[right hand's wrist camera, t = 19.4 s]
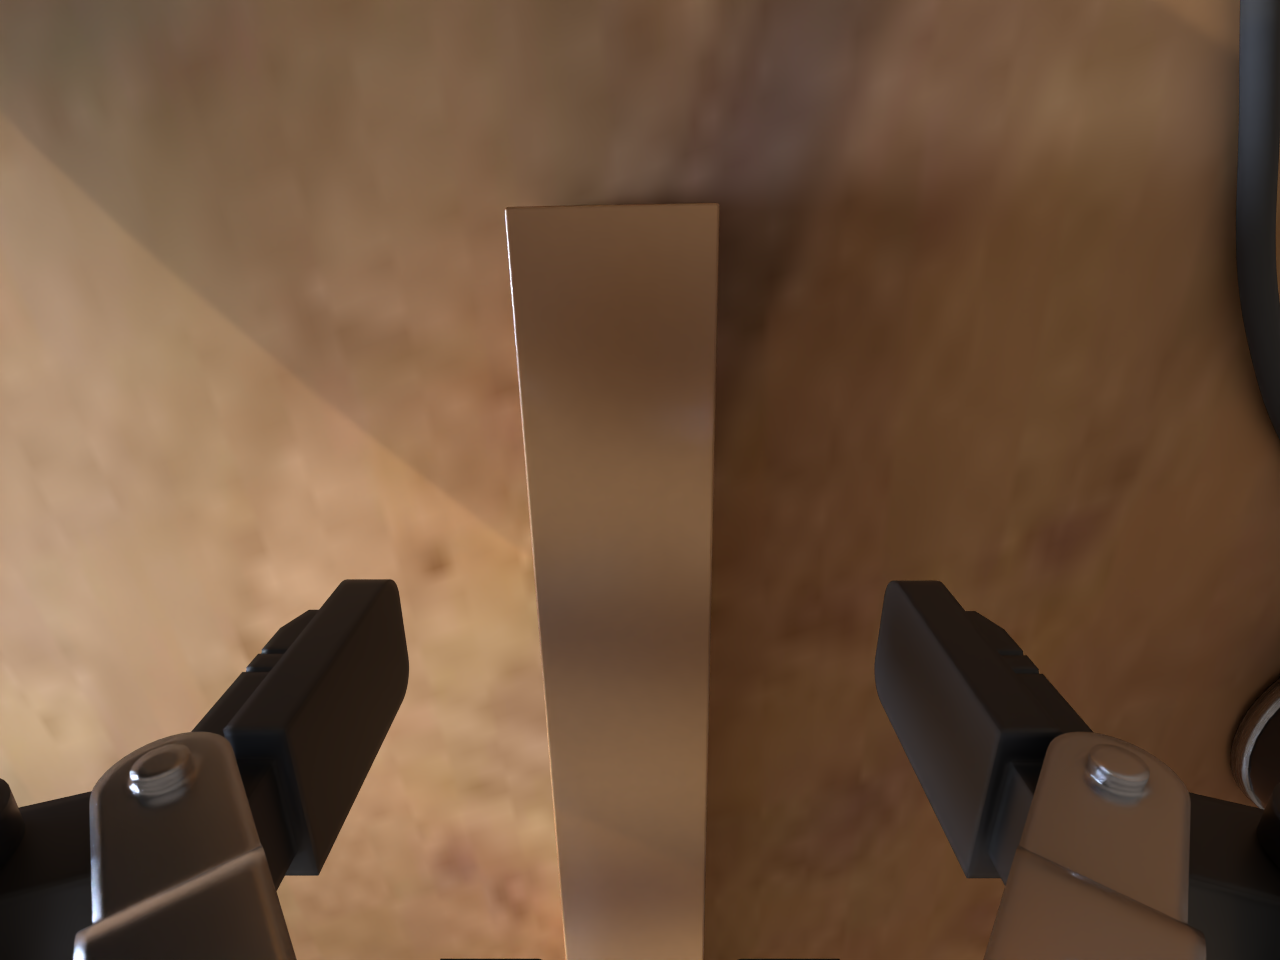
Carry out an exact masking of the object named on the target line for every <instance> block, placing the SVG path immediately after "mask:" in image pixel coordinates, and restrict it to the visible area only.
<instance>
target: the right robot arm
mask: <svg viewBox="0 0 1280 960" xmlns="http://www.w3.org/2000/svg"><path fill="white" fill-rule="evenodd" d="M1279 143H1280V0H1240V43H1239V137H1238V169H1237V198H1236V259H1237V275H1238V286H1239V295H1240V302H1241V309H1242V316H1243V321H1244V326H1245V331H1246V336H1247V341H1248V345H1249V350H1250V354H1251V358H1252V362H1253V366H1254V370H1255V374H1256V378H1257V381H1258V385H1259V388H1260V391H1261V395H1262V398H1263V401H1264V404H1265V406H1266V409H1267V412H1268V414H1269V417H1270V419H1271V422H1272V424H1273V426H1274V429H1275V431H1276V433H1277V435H1278V437H1279V439H1280V302H1279V294H1278V284H1277V272H1276V201H1277V180H1278V162H1279ZM246 668H247V670H246V672H242V673H241V674H240V676H239V677H238V678H237V679H236V680H235V681H234V683H233V684H232V685H231V686H230V687H229V688H228V690H227V691H226V692H225V693H224V694H223V695H222V697H221V698H220V699H219V700H218V701H217V702H216V704H215V705H214V706H213V707H212V708H211V709H210V711H209V712H208V713H207V714H206V715H205V716H204V718H203V719H202V720H201V721H200V722H199V723H198V725H197V726H196V727H195V728H194V729H193V730H192V732H188V733H181V734H177V735H173V736H169V737H166V738H163V739H160V740H157V741H154V742H152V743H150V744H147V745H145V746H143V747H141V748H139V749H137V750H135V751H134V752H132V753H130V754H129V755H127V756H125V757H124V758H122V759H121V760H120V761H118V762H117V763H116V764H114V765H113V766H112V767H111V768H110V769H109V770H107V771H106V772H105V773H104V775H103V776H102V777H101V778H100V779H99V780H98V782H97V783H96V785H95V786H94V788H93V790H92V791H91V792H87V793H82V794H78V795H73V796H69V797H64V798H60V799H55V800H51V801H47V802H42V803H38V804H33V805H29V806H24V807H20V808H18V806H17V804H16V801H15V799H14V797H13V794H12V792H11V790H10V787H9V785H8V784H7V783H6V782H5V781H4V780H2V779H0V960H296V956H295V953H294V950H293V946H292V943H291V940H290V936H289V933H288V929H287V926H286V923H285V919H284V916H283V913H282V909H281V906H280V903H279V899H278V896H277V892H276V891H277V889H278V887H279V885H280V883H281V882H282V880H283V878H284V876H285V875H319V873H320V871H321V869H322V867H323V865H324V863H325V861H326V859H327V857H328V855H329V853H330V850H331V848H332V846H333V844H334V842H335V840H336V838H337V836H338V834H339V832H340V830H341V828H342V826H343V824H344V821H345V819H346V817H347V815H348V813H349V811H350V809H351V807H352V805H353V803H354V801H355V799H356V797H357V795H358V792H359V790H360V788H361V786H362V784H363V782H364V780H365V778H366V776H367V774H368V772H369V770H370V768H371V766H372V763H373V761H374V759H375V757H376V755H377V753H378V751H379V749H380V747H381V745H382V743H383V741H384V739H385V737H386V734H387V732H388V730H389V728H390V726H391V724H392V722H393V720H394V718H395V716H396V714H397V712H398V710H399V708H400V705H401V703H402V701H403V699H404V696H405V693H406V689H407V684H408V677H409V660H408V652H407V645H406V638H405V631H404V624H403V617H402V611H401V604H400V597H399V591H398V588H397V585H396V583H395V582H394V581H393V580H379V579H378V580H375V579H374V580H371V579H370V580H367V579H365V580H362V579H361V580H358V579H356V580H354V579H352V580H350V579H347V580H344V581H342V582H341V583H340V585H339V586H338V587H337V588H336V589H335V591H334V592H333V593H332V594H331V596H330V597H329V598H328V599H327V601H326V602H325V603H324V604H323V606H322V607H321V608H320V609H319V610H308V611H306V612H305V613H303V614H302V615H300V616H299V617H297V618H295V619H294V620H292V621H291V622H289V623H288V624H286V625H285V626H283V627H281V628H280V629H279V630H278V631H277V633H276V634H275V635H274V636H273V637H272V638H271V640H270V641H269V642H268V643H267V644H266V645H265V647H264V648H263V649H262V653H261V654H258V655H257V656H256V657H255V658H254V659H253V661H252V662H251V663H250V664H249V665H248V666H247V667H246ZM1038 670H1039V669H1038V668H1037V667H1036V666H1035V665H1034V663H1033V662H1032V661H1031V660H1030V659H1029V658H1028V656H1027V655H1023V651H1022V650H1021V648H1020V647H1019V646H1018V645H1017V644H1016V643H1015V641H1014V640H1013V639H1012V638H1011V637H1010V636H1009V635H1008V633H1007V632H1006V631H1005V630H1004V629H1002V628H1001V627H999V626H998V625H996V624H995V623H993V622H991V621H990V620H988V619H987V618H985V617H984V616H982V615H980V614H979V613H977V612H976V611H965V610H964V609H963V608H962V607H961V605H960V604H959V603H958V602H957V600H956V599H955V598H954V597H953V595H952V594H951V593H950V592H949V591H948V589H947V588H946V587H945V586H944V584H943V583H942V582H940V581H891V582H890V583H889V584H888V586H887V588H886V591H885V596H884V603H883V609H882V616H881V623H880V630H879V637H878V643H877V650H876V657H875V682H876V688H877V692H878V696H879V699H880V701H881V704H882V706H883V708H884V710H885V712H886V714H887V716H888V718H889V720H890V722H891V724H892V726H893V728H894V730H895V732H896V734H897V736H898V738H899V740H900V742H901V744H902V747H903V749H904V751H905V753H906V755H907V757H908V759H909V761H910V763H911V765H912V767H913V769H914V771H915V773H916V775H917V777H918V779H919V781H920V783H921V785H922V787H923V789H924V792H925V794H926V796H927V798H928V800H929V802H930V804H931V806H932V808H933V810H934V812H935V814H936V816H937V818H938V820H939V822H940V824H941V826H942V828H943V830H944V832H945V835H946V837H947V839H948V841H949V843H950V845H951V847H952V849H953V851H954V853H955V855H956V857H957V859H958V861H959V863H960V865H961V867H962V869H963V871H964V873H965V875H966V878H1001V879H1002V881H1003V883H1004V885H1005V889H1004V892H1003V896H1002V899H1001V903H1000V906H999V909H998V913H997V916H996V919H995V923H994V926H993V929H992V933H991V936H990V940H989V943H988V946H987V950H986V953H985V956H984V960H1280V678H1279V679H1278V680H1277V681H1276V682H1275V683H1273V684H1272V685H1271V686H1270V687H1269V688H1268V689H1267V690H1266V691H1265V692H1264V693H1263V694H1262V695H1261V696H1260V697H1259V698H1258V699H1257V700H1256V701H1255V702H1254V704H1253V705H1252V706H1251V708H1250V709H1249V710H1248V712H1247V713H1246V715H1245V716H1244V718H1243V720H1242V721H1241V723H1240V725H1239V727H1238V729H1237V732H1236V734H1235V737H1234V741H1233V744H1232V750H1231V768H1232V772H1233V776H1234V778H1235V781H1236V783H1237V784H1238V786H1239V788H1240V789H1241V790H1242V792H1243V793H1244V794H1245V795H1246V796H1247V797H1248V798H1249V799H1250V800H1252V801H1253V802H1254V803H1255V804H1256V805H1257V806H1258V807H1259V808H1255V807H1251V806H1246V805H1242V804H1237V803H1233V802H1228V801H1224V800H1220V799H1215V798H1211V797H1206V796H1202V795H1197V794H1194V793H1190V792H1188V790H1187V788H1186V786H1185V785H1184V783H1183V782H1182V780H1181V779H1180V778H1179V777H1178V776H1177V775H1176V774H1175V772H1174V771H1173V770H1171V769H1170V768H1169V767H1168V766H1167V765H1166V764H1164V763H1163V762H1162V761H1160V760H1159V759H1158V758H1156V757H1155V756H1153V755H1151V754H1150V753H1148V752H1146V751H1145V750H1143V749H1141V748H1139V747H1137V746H1135V745H1133V744H1130V743H1128V742H1126V741H1123V740H1120V739H1117V738H1114V737H1111V736H1107V735H1103V734H1099V733H1093V731H1092V730H1091V729H1090V728H1089V727H1088V726H1087V725H1086V723H1085V722H1084V721H1083V720H1082V719H1081V718H1080V716H1079V715H1078V714H1077V713H1076V712H1075V711H1074V710H1073V708H1072V707H1071V706H1070V705H1069V704H1068V703H1067V701H1066V700H1065V699H1064V698H1063V697H1062V696H1061V695H1060V693H1059V692H1058V691H1057V690H1056V689H1055V688H1054V686H1053V685H1052V684H1051V683H1050V682H1049V681H1048V680H1047V678H1046V677H1045V676H1044V675H1043V674H1039V672H1038ZM440 960H541V959H440ZM739 960H840V959H739Z"/></svg>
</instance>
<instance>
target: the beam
mask: <svg viewBox="0 0 1280 960" xmlns="http://www.w3.org/2000/svg"><path fill="white" fill-rule="evenodd" d="M719 209H720V206H719V204H718V203H685V204H634V205H582V206H530V207H506V208H505V210H504V212H505V224H506V237H507V249H508V261H509V273H510V285H511V297H512V310H513V322H514V334H515V346H516V358H517V371H518V383H519V395H520V407H521V419H522V432H523V444H524V456H525V468H526V480H527V492H528V505H529V517H530V529H531V541H532V553H533V566H534V578H535V590H536V602H537V614H538V626H539V639H540V651H541V663H542V675H543V687H544V700H545V712H546V724H547V736H548V748H549V760H550V773H551V785H552V797H553V809H554V821H555V834H556V846H557V858H558V870H559V882H560V894H561V907H562V919H563V931H564V943H565V955H566V960H704V917H705V870H706V823H707V776H708V728H709V681H710V634H711V587H712V539H713V492H714V445H715V398H716V350H717V303H718V256H719Z"/></svg>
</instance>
